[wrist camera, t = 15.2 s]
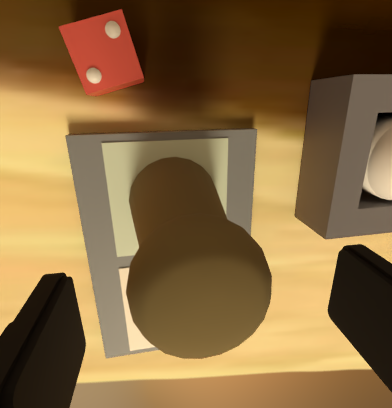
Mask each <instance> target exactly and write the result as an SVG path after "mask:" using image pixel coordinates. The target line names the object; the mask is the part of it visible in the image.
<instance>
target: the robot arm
mask: <svg viewBox="0 0 392 408" xmlns="http://www.w3.org/2000/svg"><path fill="white" fill-rule="evenodd" d="M328 314H329V316H330V318H331V320H332V321H333V322H334V323H335V325H336V326H337V327H338V328H339V329H340V331H341V332H342V333H343V334H344V335H345V337H346V338H347V339H348V340H349V341H350V343H351V344H352V345H353V346H354V348H355V349H356V350H357V351H358V352H359V354H360V355H361V356H362V357H363V358H364V360H365V361H366V362H367V363H368V364H369V366H370V367H371V368H372V369H373V370H374V372H375V373H376V374H377V375H378V376H379V378H380V379H381V380H382V381H383V382H384V384H385V385H386V386H387V387H388V388H389V390H390V391H391V392H392V264H391V263H390V262H388V261H387V260H385V259H384V258H382V257H381V256H379V255H378V254H376V253H375V252H373V251H372V250H370V249H369V248H367V247H366V246H364V245H362V244H358V245H347V246H344V247H343V248H342V250H341V251H340V252H339V254H338V259H337V264H336V269H335V274H334V279H333V285H332V290H331V295H330V300H329V305H328ZM85 346H86V342H85V336H84V331H83V326H82V322H81V317H80V312H79V307H78V303H77V298H76V293H75V288H74V284H73V279H72V277H67V276H66V274H65V273H54V274H45V275H43V277H42V278H41V280H40V281H39V283H38V284H37V286H36V287H35V289H34V290H33V292H32V293H31V295H30V296H29V298H28V300H27V301H26V303H25V304H24V306H23V307H22V309H21V310H20V312H19V313H18V315H17V317H16V318H15V320H14V321H13V322H11V323H10V324H9V325H8V326H7V327H6V328H5V330H4V331H3V333H2V334H1V336H0V408H69V407H70V403H71V400H72V396H73V392H74V389H75V386H76V382H77V378H78V375H79V371H80V368H81V364H82V360H83V357H84V353H85Z"/></svg>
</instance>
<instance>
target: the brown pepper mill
mask: <svg viewBox="0 0 392 408" xmlns="http://www.w3.org/2000/svg"><path fill="white" fill-rule="evenodd" d="M129 205H130V210H131V215H132V219H133V223H134V228H135V232H136V236H137V241H138V245H139V249H138V250H137V252H136V254H135V256H134V257H133V259H132V261H131V263H130V268H129V274H128V280H127V287H126V296H127V300H128V304H129V309H130V313H131V316H132V320H133V322H134V324H135V325H136V327H137V328H138V329H139V331H140V332H141V334H142V335H143V336H144V338H145V339H146V340H147V341H148V342H149V343H150V344H152V345H153V346H155V347H156V348H158V349H159V350H161V351H162V352H164V353H165V354H169V355H172V356H176V357H179V358H188V359H202V358H207V357H211V356H216V355H220V354H222V353H225V352H227V351H229V350H231V349H233V348H235V347H237V346H239V345H240V344H241V343H242V342H244V341H245V340H246V339H247V338H249V337H250V336H251V335H252V334H253V333H254V332H255V331H256V329H257V328H258V327H259V325H260V324H261V323H262V321H263V320H264V318H265V315H266V312H267V309H268V307H269V304H270V299H271V282H272V276H271V273H270V269H269V266H268V264H267V261H266V258H265V256H264V253H263V250H262V248H261V247H260V246H259V245H258V244H257V242H256V241H255V240H254V239H253V238H252V237H251V236H250V235H249V234H248V233H247V232H246V230H245V229H244V228H243V227H241V226H239V225H237V224H235V223H233V222H231V221H229V220H228V219H227V217H226V214H225V211H224V209H223V206H222V203H221V201H220V198H219V195H218V193H217V190H216V187H215V185H214V183H213V180H212V178H211V176H210V175H209V174H208V173H207V171H206V170H205V169H204V168H203V167H202V166H201V165H199V164H197V163H195V162H193V161H192V160H190V159H185V158H180V157H170V158H162V159H159V160H157V161H155V162H153V163H151V164H149V165H147V166H146V167H145V168H144V169H143V170H142V171H141V172H140V173H139V174H138V175H137V176H136V178H135V180H134V182H133V184H132V186H131V189H130V196H129Z"/></svg>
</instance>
